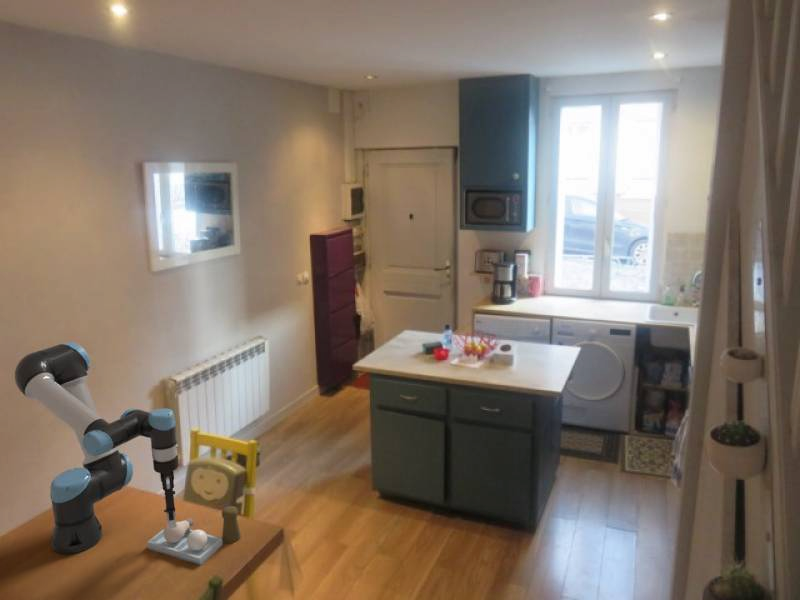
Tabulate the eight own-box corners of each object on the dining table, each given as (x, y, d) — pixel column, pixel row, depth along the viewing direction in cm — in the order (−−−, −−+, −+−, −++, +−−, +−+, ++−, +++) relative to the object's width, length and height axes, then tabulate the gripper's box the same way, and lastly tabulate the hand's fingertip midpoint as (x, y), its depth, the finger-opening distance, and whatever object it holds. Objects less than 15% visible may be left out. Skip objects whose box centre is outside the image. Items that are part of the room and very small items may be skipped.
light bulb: (186, 508, 210) (159, 524, 201) (200, 517, 207) (173, 534, 198) (184, 523, 212) (157, 540, 203) (198, 533, 209) (171, 550, 200)
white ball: (183, 552, 199) (181, 534, 198) (196, 540, 205) (195, 523, 203) (199, 557, 197) (197, 539, 195) (212, 545, 202) (211, 528, 201)
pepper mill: (235, 544, 204) (234, 514, 202) (218, 542, 206) (216, 512, 203) (243, 533, 210) (242, 504, 208) (227, 531, 211) (225, 502, 209)
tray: (147, 548, 202) (147, 541, 201) (171, 530, 212) (171, 523, 211) (200, 565, 194) (199, 558, 193) (222, 545, 204) (222, 538, 203)
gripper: (180, 469, 190) (185, 535, 195) (175, 441, 208) (181, 502, 213) (153, 474, 187) (160, 541, 192) (151, 445, 205) (158, 507, 210)
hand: (171, 520), depth 203 cm, fingers open, 7 cm apart
